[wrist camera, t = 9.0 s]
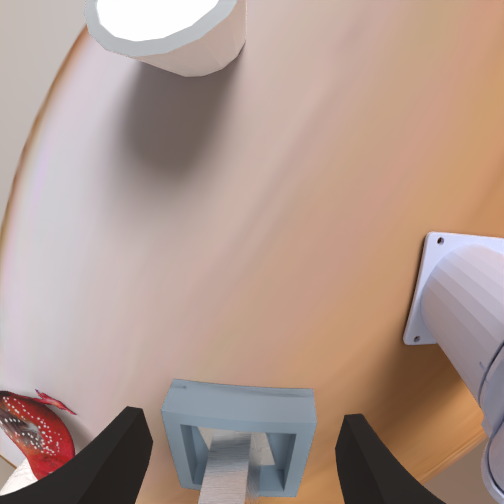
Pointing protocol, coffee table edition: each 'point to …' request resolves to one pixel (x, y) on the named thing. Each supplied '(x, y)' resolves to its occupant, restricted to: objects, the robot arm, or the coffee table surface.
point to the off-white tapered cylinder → (171, 32)
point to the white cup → (19, 478)
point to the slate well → (240, 428)
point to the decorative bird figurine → (36, 431)
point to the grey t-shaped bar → (234, 465)
